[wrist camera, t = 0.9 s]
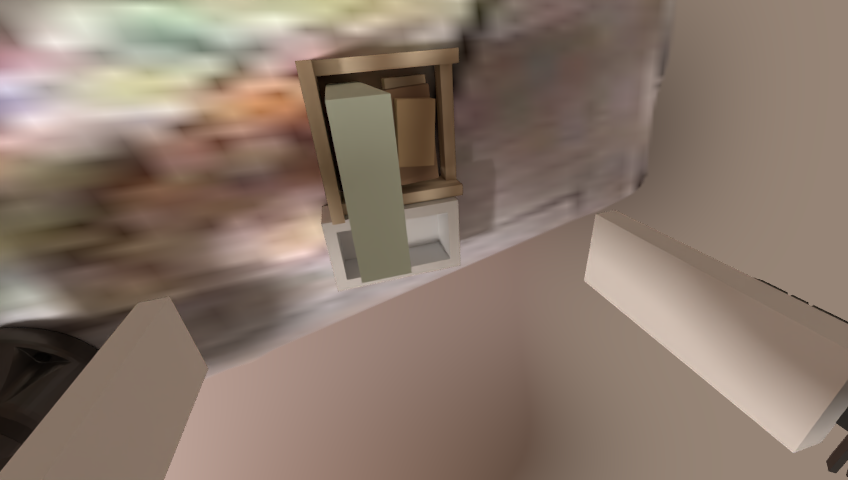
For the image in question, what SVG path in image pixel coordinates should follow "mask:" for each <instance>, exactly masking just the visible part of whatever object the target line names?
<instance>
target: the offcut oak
mask: <svg viewBox="0 0 848 480" xmlns="http://www.w3.org/2000/svg"><path fill="white" fill-rule="evenodd" d="M394 116H395V136H396V144H397V153H398V161H399V167H415V166H431V165H434V148H435V99H434V98H394Z"/></svg>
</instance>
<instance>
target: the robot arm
mask: <svg viewBox="0 0 848 480" xmlns="http://www.w3.org/2000/svg"><path fill="white" fill-rule="evenodd" d="M584 281H585V282H586V283H588V284H589V285H590V286H591V287H593V288H594V289H595V290H596V291H597V292H599V293H600V294H601V295H602V296H603V297H605V298H606V299H607V300H608V301H609V302H611V303H612V304H613V305H614V306H616V307H617V308H618V309H619V310H620V311H622V312H623V313H624V314H625V315H627V316H628V317H629V318H630V319H631V320H633V321H634V322H635V323H636V324H637V325H639V326H640V327H641V328H642V329H643V330H645V331H646V332H647V333H648V334H650V335H651V336H652V337H653V338H654V339H656V340H657V341H658V342H659V343H661V344H662V345H663V346H664V347H666V348H667V349H668V350H669V351H670V352H671V353H673V354H674V355H675V356H676V357H677V358H679V359H680V360H681V361H682V362H684V363H685V364H686V365H687V366H688V367H690V368H691V369H692V370H693V371H695V372H696V373H697V374H698V375H699V376H701V377H702V378H703V379H704V380H706V381H707V382H708V383H709V384H710V385H711V386H713V387H714V388H715V389H716V390H718V391H719V392H720V393H721V394H722V395H724V396H725V397H726V398H727V399H729V400H730V401H731V402H732V403H733V404H735V405H736V406H737V407H738V408H739V409H741V410H742V411H743V412H744V413H746V414H747V415H748V416H749V417H750V418H752V419H753V420H754V421H755V422H757V423H758V424H759V425H760V426H761V427H762V428H764V429H765V430H766V431H767V432H769V433H770V434H771V435H772V436H774V437H775V438H776V439H777V440H778V441H780V442H781V443H782V444H783V445H784V446H786V447H787V448H788V449H789V450H790V451H792V452H793V453H795V452H798V451H800V450H803V449H805V448H808V447H810V446H813V445H815V444H818V443H821V442H822V440H823V439H824V438H825V437H826V435H827V434H828V433H829V432H830V430H831V429H832V428H833V427H834V425H835V424H836V423H837V424H838V425H839V426H841V427H842V428H844V429H845V430H847V431H848V322H847V321H845V320H843V319H841V318H839V317H837V316H834V315H833V314H831V313H829V312H827V311H824V310H823V309H820V308H818V307H816V306H810V305H809V304H808V302H806V301H804V300H802V299H800V298H798V297H796V296H794V295H791V296H790V295H788V294H787V292H785V291H783V290H781V289H779V288H777V287H775V286H773V285H771V284H769V283H767V282H765V281H763V280H760V279H756V278H753V277H751V276H749V275H747V274H745V273H743V272H740V271H739V270H737V269H735V268H733V267H731V266H728V265H726V264H724V263H722V262H720V261H718V260H716V259H714V258H712V257H710V256H708V255H706V254H704V253H702V252H700V251H698V250H696V249H694V248H691V247H690V246H688V245H685V244H684V243H682V242H679V241H677V240H675V239H673V238H671V237H669V236H667V235H665V234H663V233H661V232H659V231H657V230H655V229H653V228H651V227H649V226H647V225H644V224H643V223H641V222H639V221H636V220H634V219H632V218H630V217H628V216H626V215H624V214H622V213H620V212H618V211H616V210H613V211H608V212H602V213H598V214H596V215H595V221H594V227H593V233H592V238H591V244H590V250H589V256H588V262H587V267H586V273H585V279H584ZM207 371H208V367H207V365H206V363H205V361H204V360H203V358H202V356H201V354H200V352H199V350H198V348H197V346H196V345H195V343H194V341H193V339H192V337H191V335H190V333H189V332H188V330H187V328H186V326H185V324H184V322H183V320H182V319H181V317H180V315H179V313H178V311H177V309H176V307H175V305H174V304H173V302H172V300H171V298H170V297H164V298H159V299H154V300H149V301H144V302H139V303H137V304H136V305H135V307H134V308H133V309H132V310H131V312H130V313H129V314H128V315H127V317H126V318H125V319H124V320H123V321H122V323H121V324H120V325H119V326H118V328H117V329H116V330H115V331H114V333H113V334H112V335H111V336H110V337H109V339H108V340H107V341H106V342H105V344H104V345H103V346H102V347H101V348H100V350H99V351H98V350H96V349H95V348H94V347H92V346H90V345H89V344H87V343H85V342H83V341H81V340H78V339H76V338H73V337H71V336H68V335H65V334H61V333H57V332H53V331H48V330H42V329H35V328H2V329H0V480H164V478H165V476H166V473H167V471H168V468H169V466H170V463H171V461H172V458H173V456H174V453H175V451H176V448H177V446H178V443H179V441H180V438H181V436H182V433H183V431H184V428H185V426H186V423H187V421H188V418H189V416H190V413H191V411H192V408H193V406H194V403H195V401H196V398H197V396H198V393H199V391H200V388H201V386H202V383H203V381H204V378H205V376H206V373H207ZM847 460H848V435H847V436H846V437H845V439H843V441H842V442H841V443H840V444H839V445H838V447H837V448H836V449H835V450H834V451H833V453H832V454H831V455H830V457H829V458H828V460H827V461H826V462H827V466H828V470H829V471H830V472H833V473H837V472H838V471H839V469H840V468H841V467H842V466H843V465H844V464H845V463H846V461H847ZM846 475H847V477H848V470H847V474H846Z"/></svg>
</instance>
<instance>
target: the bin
mask: <svg viewBox="0 0 848 480" xmlns="http://www.w3.org/2000/svg"><path fill="white" fill-rule="evenodd" d="M404 212H405V221H406V229H407V238H408V246H409V255H410V263H411V272H412V273H408V274H403V275H399V276H394V277H389V278H384V279H380V280H375V281H370V282H365V283H362V281H361V276H360V271H359V266H358V261H357V256H356V251H355V246H354V241H353V236H352V231H351V227H350V222H349V217H348V215H344V216H345V223H342V224H336V225H333V224H332V220H331V216H330V211H329V207H328V205H326V206H322V222H321V224H322V228H323V232H324V236H325V240H326V245H327V249H328V253H329V257H330V261H331V265H332V269H333V273H334V277H335V281H336V285H337V289H338V291H343V290H347V289H352V288H357V287H362V286H366V285H371V284H376V283H380V282H385V281H390V280H395V279H399V278H404V277H409V276H413V275H418V274H423V273H428V272H432V271H437V270H442V269H446V268H451V267H456V266H460V238H459V211H458V200H457V199H456V198H455V197H454V196H453V197H447V198H442V199H436V200H430V201H424V202H418V203H413V204H407V205H404Z"/></svg>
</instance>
